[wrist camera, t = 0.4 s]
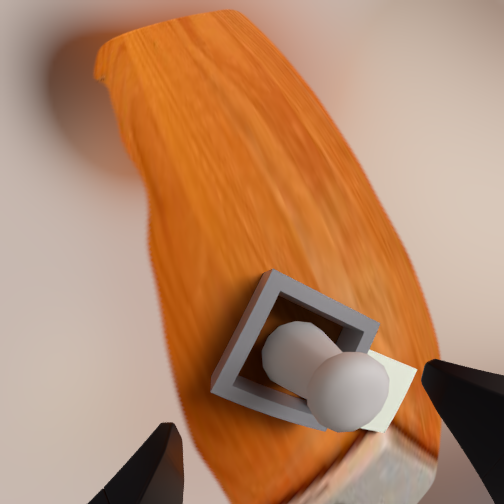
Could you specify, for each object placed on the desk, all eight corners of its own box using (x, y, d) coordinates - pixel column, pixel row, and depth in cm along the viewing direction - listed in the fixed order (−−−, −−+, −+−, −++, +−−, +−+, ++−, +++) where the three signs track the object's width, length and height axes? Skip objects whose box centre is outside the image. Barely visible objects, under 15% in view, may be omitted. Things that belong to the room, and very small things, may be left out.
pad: (380, 429, 23) (384, 432, 22) (325, 416, 22) (329, 420, 21) (411, 367, 24) (417, 369, 23) (362, 346, 24) (367, 348, 23)
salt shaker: (244, 358, 22) (275, 426, 10) (281, 306, 24) (351, 318, 11) (295, 389, 23) (362, 460, 10) (330, 339, 24) (424, 371, 11)
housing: (310, 414, 22) (325, 431, 18) (211, 376, 22) (210, 392, 18) (357, 319, 24) (380, 323, 20) (263, 272, 24) (273, 268, 20)
